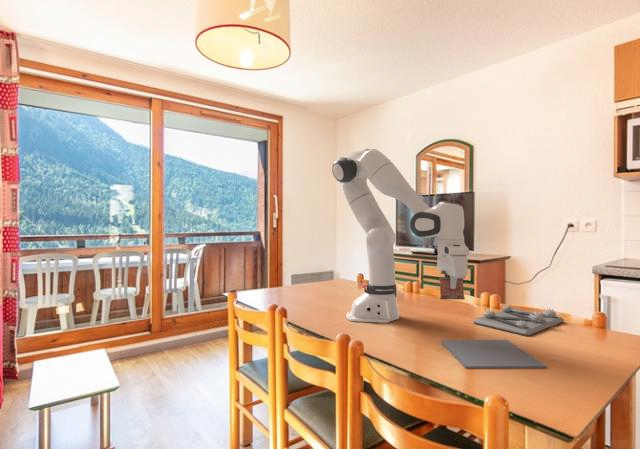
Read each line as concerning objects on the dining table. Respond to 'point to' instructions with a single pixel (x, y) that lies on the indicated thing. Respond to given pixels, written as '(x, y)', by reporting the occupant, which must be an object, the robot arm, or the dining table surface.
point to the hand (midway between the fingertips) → (450, 287)
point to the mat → (490, 354)
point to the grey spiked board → (519, 320)
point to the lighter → (447, 291)
